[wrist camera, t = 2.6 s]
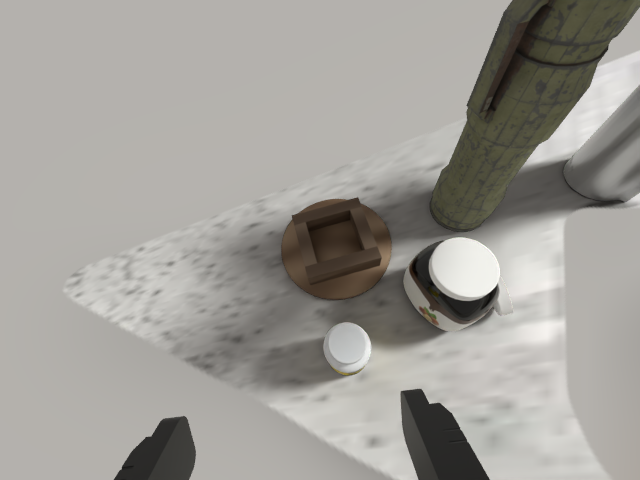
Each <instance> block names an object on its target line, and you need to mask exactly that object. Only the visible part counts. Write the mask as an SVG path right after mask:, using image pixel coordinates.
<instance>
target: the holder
mask: <svg viewBox="0 0 640 480" xmlns="http://www.w3.org/2000/svg"><path fill="white" fill-rule="evenodd" d="M292 219H293V220H292V221H291V222H290V224H289V225H288V227H287V229H286V231H285V233H284V236H283V240H282V260H283V263H284V266H285V268H286V270H287V272H288V274H289V276H290V277H291V279H292V280H293V281H294V282H295V283H296V284H297V285H298V286H299V287H300V288H301V289H303V290H304V291H306V292H307V293H309V294H311V295H314V296H316V297H320V298H324V299H330V300H340V299H347V298H352V297H355V296H358V295H360V294H362V293H364V292H366V291H367V290H369V289H370V288H372V287H373V286H374V285H375V284H376V283H377V282H378V281H379V280H380V279H381V277H382V276H383V274H384V273H385V271H386V269H387V267H388V264H389V261H390V257H391V249H392V248H391V238H390V234H389V232H388V229H387V227H386V225H385V223H384V222H383V221H382V219H381V218H380V217H379V216H378V215H377V214H376V213H375V212H374V211H373V210H371V209H370V208H368V207H367V206H365V205H363V204H361V203H360V201H359V199H358V197H357V198H354V199H350V200H345V199H330V200H325V201H321V202H318V203H315V204H313V205H310V206H309V207H307V208H305V209H304V210H302V211H301V212H300V213H298V214H296V215H292Z"/></svg>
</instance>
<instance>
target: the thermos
mask: <svg viewBox="0 0 640 480" xmlns="http://www.w3.org/2000/svg"><path fill="white" fill-rule="evenodd" d="M639 7H640V0H513V1H512V2H511V3H510V5H509V6H508V8H507V9H506V10H505V12H504V13H503V16H502V18H501V21H500V24H499V26H498V28H497V31H496V33H495V36H494V38H493V41H492V44H491V46H490V49H489V51H488V54H487V56H486V59H485V61H484V64H483V66H482V69H481V71H480V74H479V77H478V79H477V81H476V84H475V86H474V89H473V91H472V94H471V96H470V99H469V101H468V103H467V106H468V109H467V122H466V125H465V127H464V129H463V132H462V134H461V136H460V139H459V141H458V143H457V146H456V148H455V151H454V153H453V155H452V158H451V160H450V162H449V165H447V166H446V167H445V168H444V169H443V170H442V171H441V174H440V176H439V179H438V181H437V184H436V186H435V189H434V191H433V196H432V199H431V201H430V211H431V214H432V216H433V218H434V219H435V220H436V221H437V222H438V223H439V224H440V225H442V226H443V227H445V228H447V229H450V230H453V231H460V232H466V231H471V230H474V229H476V228H477V227H479V226H480V225H481V224H482V223H483V222H484V220H485V219H487V218H488V217H489V216H490V214H491V213H492V212H493V211H494V210H495V208H496V207H497V206H498V204H499V203H500V202H501V201H502V199H503V198H504V197H505V194H506V190H507V186H508V184H509V183H510V182H511V180H512V179H513V178H514V176H515V175H516V174H517V172H518V171H519V170H520V168H521V167H522V166H523V164H524V163H525V162H526V160H527V159H528V158H529V157H530V155H531V154H532V153H533V151H534V150H535V149H536V147H537V146H538V145H539V144H540V143H542V142H544V141H546V140H548V139H549V138H550V136H551V135H552V134H553V133H554V132H555V130H556V129H557V128H558V127H559V125H560V124H561V123H562V121H563V120H564V119H565V118H566V116H567V115H568V114H569V112H570V111H571V110H572V109H573V107H574V106H575V105H576V103H577V102H578V101H579V100H580V98H581V97H582V96H583V94H584V93H585V92H586V91H587V89H588V88H589V87H590V84H591V81H592V79H593V76H594V73H595V70H596V67H597V64H598V62H599V61H600V60H601V58H602V57H603V56H604V54H605V53H606V52H607V50H608V45H609V43H610V41H611V40H612V39H613V38H614V37H616V36H618V34H619V33H620V32H621V31H622V30H623V29H624V27H625V26H626V25H627V23H628V22H629V21H630V19H631V18H632V17H633V15H634V14H635V13H636V11H637V10H638V9H639Z"/></svg>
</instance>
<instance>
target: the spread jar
mask: <svg viewBox="0 0 640 480" xmlns="http://www.w3.org/2000/svg"><path fill="white" fill-rule="evenodd" d="M403 284H404V288H405V291H406V293H407V296H408V298H409V299H410V301H411V303H412V305H413V306H414V307H415V309H416V310H417V311H418V312H419V313H420V314H421V315H422V316H423V317H424V318H425V319H426V320H427V321H429V322H430V323H432V324H433V325H435V326H436V327H438V328H440V329H442V330H445V331H450V332H452V331H458V330H461V329H463V328H465V327H467V326H469V325H471V324H473V323H474V322H476V321H477V320H479V319H480V318H482V317H483V316H484V315H485V314H486V313H487V312H489V310H490V309H491V308H492V307H494V309H495V311H496V312H497V313H498V315H500V316H503V315H507V314H511V313H513V306H512V302H511V298H510V295H509V293H508V290H507V288H506V285H505V283H504V281H503V279H502V277H501V275H500V268H499V264H498V262H497V259H496V257H495V256H494V255H493V253H492V252H491V251H490V250H489V249H488V248H487V247H486V246H484V245H483V244H481V243H479V242H478V241H475V240H472V239H469V238H461V237H457V238H451V239H448V240H445V241H439V242H436V243H434V244H432V245H430V246H428V247H427V248H425V249H424V250H422V251H421V252H420V253H419V254H418V255H417V256H416V257H415V258H414V259H413V260H412V261H411V262H410V264H409V266H408V267H407V270H406V272H405V275H404V279H403Z"/></svg>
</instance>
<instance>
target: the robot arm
mask: <svg viewBox="0 0 640 480" xmlns="http://www.w3.org/2000/svg"><path fill="white" fill-rule="evenodd" d="M563 173H564V177H565V179H566V181H567V183H568V184H569V185H570V186H571V187H572V188H573V189H574V190H575V191H577V192H578V193H580V194H581V195H583V196H586V197H588V198H591V199H594V200H600V201H613V200H621V201H624V202H627V201H628V200H630V199H631V198H633V197H634V196H636V195H637V194H639V193H640V85H639V86H638V87H637V88H636V89H635V90H634V91H633V92H632V93H631V95H630V96H629V97H628V98H627V99H626V100H625V101H624V102H623V103H622V104H621V105H620V106H619V107H618V108H617V109H616V111H615V112H614V113H613V114H612V115H611V116H610V117H609V118H608V119H607V120H606V121H605V122H604V123H603V124H602V125H601V127H600V128H599V129H598V130H597V131H596V132H595V133H594V134H593V135H592V136H591V137H590V138H589V139H588V140H587V141H586V142H585V144H584V145H583V146H582V147H581V148H580V149H579V150H578V151H577V152H576V153H575V154H574V155H573V156H572V158H571V159H570V160H569V161H568V162H567V163H566V164H565V166H564V171H563ZM401 411H402V426H403V432H404V437H405V441H406V444H407V447H408V450H409V453H410V456H411V459H412V462H413V465H414V468H415V471H416V473H417V476H418V479H419V480H490V479H489V477H488V476H487V474H486V472H485V471H484V469H483V467H482V465H481V464H480V462H479V460H478V458H477V457H476V455H475V453H474V451H473V450H472V448H471V446H470V444H469V443H468V442H467V439H466V437H465V436H464V434H463V432H462V431H461V430H460V427H459V425H458V423H457V422H456V420H455V418H454V416H453V415H452V413H450V412H449V411H448V410H447V409H446V408H445V407H444V406H443V405H441V404H440V403H434V404H429V402H428V400H427V398H426V396H425V394H424V392H423V391H422V389H414V390H406V391H401ZM195 456H196V451H195V446H194V442H193V438H192V435H191V431H190V427H189V424H188V420H187V418H186V417H185V416H183V417H174V418H165V419H163V420H162V421H161V422H160V423H159V425H158V426H157V428H156V430H155V432H154V433H153V435H152V436H151V437H146V438H145V439H144V440H143V441H142V442H141V443H140V444H139V445H138V446H137V447H136V448H135V449H134V450H133V451H132V452H131V454H130V455H129V457H128V458H127V460H126V461H125V463H124V465H123V466H122V470H120V471H119V472H118V474H117V476H116V477H115V479H114V480H189V478H190V476H191V473H192V471H193V468H194V463H195Z"/></svg>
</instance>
